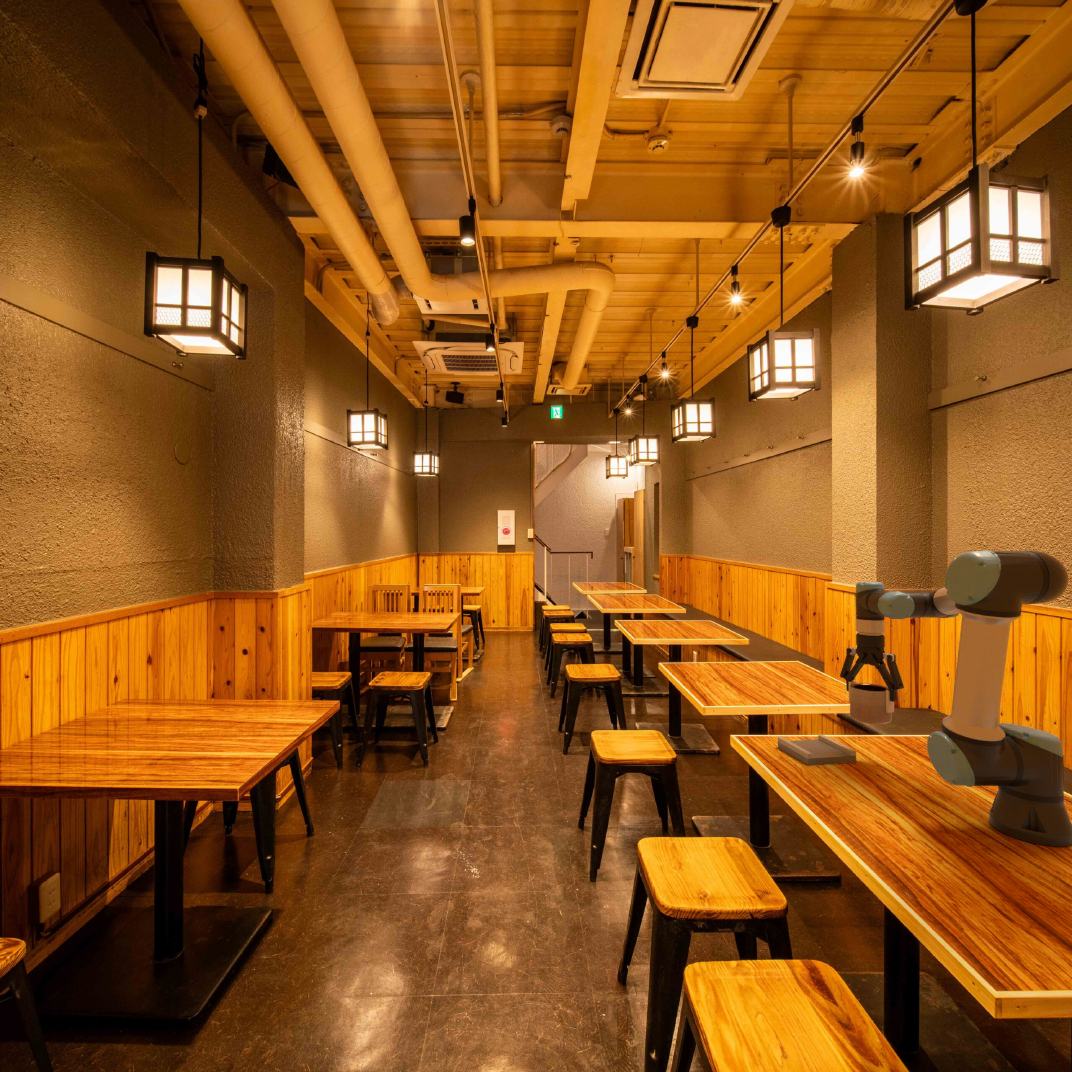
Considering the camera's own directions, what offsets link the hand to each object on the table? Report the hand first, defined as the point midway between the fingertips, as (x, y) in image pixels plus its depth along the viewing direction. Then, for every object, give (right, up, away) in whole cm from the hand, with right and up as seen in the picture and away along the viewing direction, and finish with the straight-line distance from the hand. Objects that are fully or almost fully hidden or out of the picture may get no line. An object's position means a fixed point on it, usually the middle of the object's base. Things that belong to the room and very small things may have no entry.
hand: (870, 707), depth 177 cm
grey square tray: (-12, -18, +9) cm, 23 cm away
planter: (0, -4, 0) cm, 4 cm away
